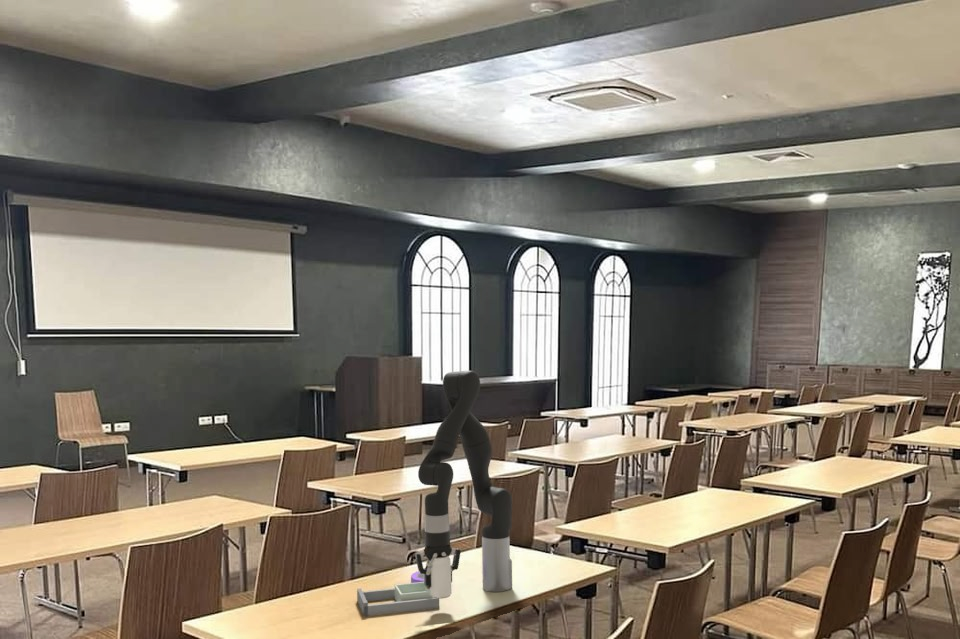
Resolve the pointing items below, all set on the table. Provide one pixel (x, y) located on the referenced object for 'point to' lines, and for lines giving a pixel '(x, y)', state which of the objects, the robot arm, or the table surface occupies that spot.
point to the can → (441, 578)
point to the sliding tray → (412, 591)
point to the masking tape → (417, 577)
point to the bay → (391, 606)
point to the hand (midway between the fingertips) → (438, 585)
